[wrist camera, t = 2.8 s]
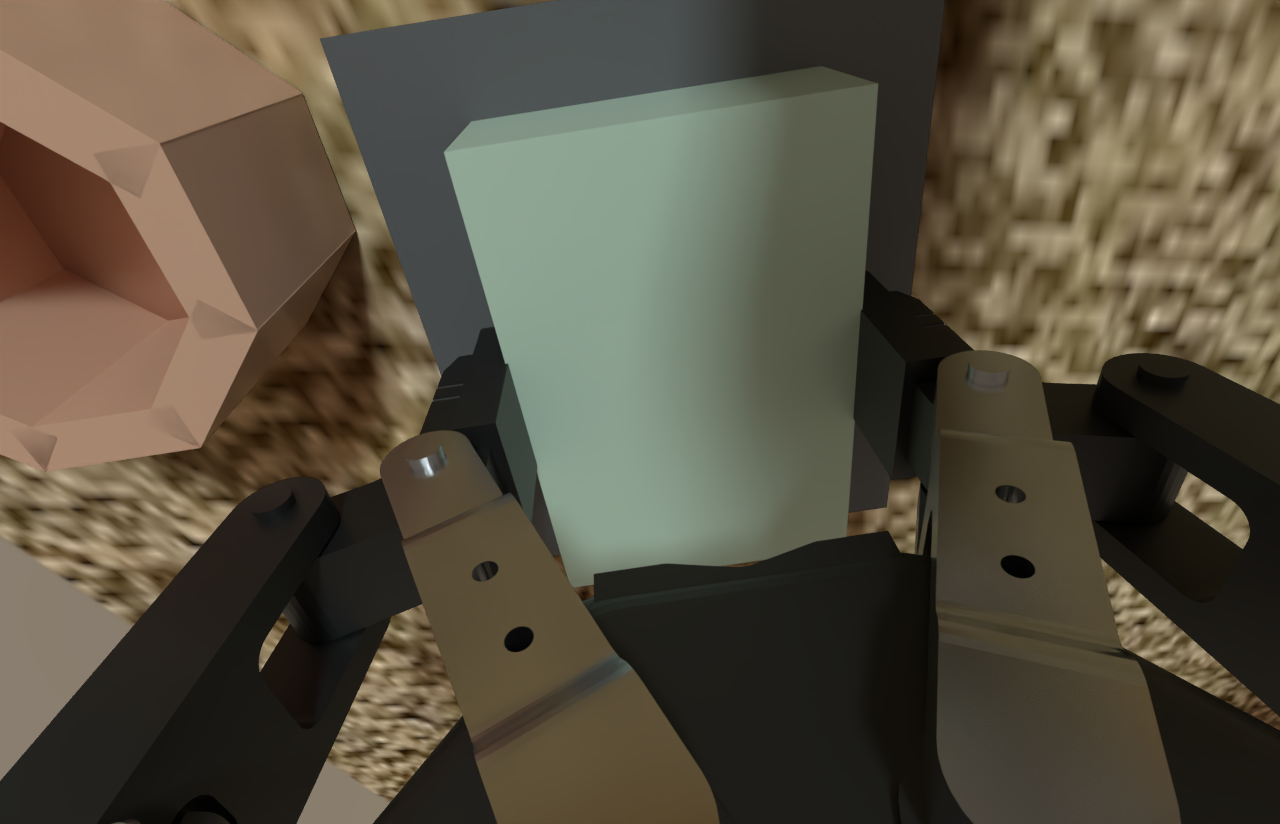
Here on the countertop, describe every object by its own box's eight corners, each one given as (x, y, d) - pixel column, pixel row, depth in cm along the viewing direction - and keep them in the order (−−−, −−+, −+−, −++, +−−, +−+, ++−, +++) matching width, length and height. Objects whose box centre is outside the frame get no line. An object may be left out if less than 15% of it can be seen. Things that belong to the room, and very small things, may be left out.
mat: (923, -60, 11) (952, -64, 10) (872, 482, 17) (886, 507, 16) (340, 34, 11) (320, 38, 10) (512, 535, 17) (509, 562, 17)
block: (821, 65, 11) (878, 83, 9) (811, 474, 16) (845, 548, 14) (471, 121, 11) (443, 152, 9) (573, 509, 16) (570, 588, 14)
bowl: (255, -27, 10) (63, -39, 6) (387, 311, 14) (310, 431, 10) (-105, 31, 10) (-496, 54, 7) (114, 352, 14) (-64, 488, 10)
